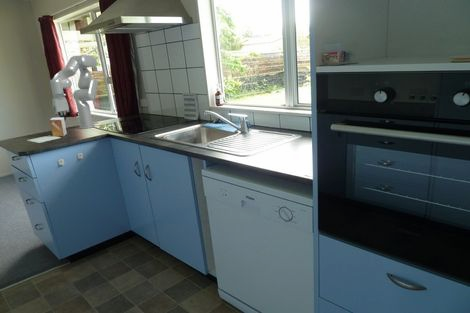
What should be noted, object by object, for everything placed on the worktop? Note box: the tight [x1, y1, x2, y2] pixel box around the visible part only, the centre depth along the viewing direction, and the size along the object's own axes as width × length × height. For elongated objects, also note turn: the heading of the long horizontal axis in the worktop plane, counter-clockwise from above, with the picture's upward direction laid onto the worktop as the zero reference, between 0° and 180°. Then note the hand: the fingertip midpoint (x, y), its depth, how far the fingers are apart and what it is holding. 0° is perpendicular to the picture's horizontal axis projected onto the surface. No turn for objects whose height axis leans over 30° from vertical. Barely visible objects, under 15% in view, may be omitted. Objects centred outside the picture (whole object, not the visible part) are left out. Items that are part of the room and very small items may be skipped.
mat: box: [26, 135, 62, 144], centre depth 247 cm, size 16×18×1 cm
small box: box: [49, 116, 68, 137], centre depth 253 cm, size 8×6×13 cm
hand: (63, 120), depth 256 cm, fingers closed
